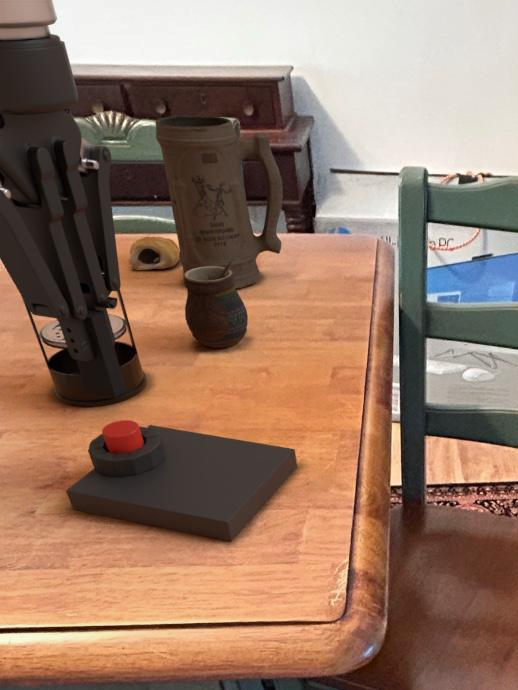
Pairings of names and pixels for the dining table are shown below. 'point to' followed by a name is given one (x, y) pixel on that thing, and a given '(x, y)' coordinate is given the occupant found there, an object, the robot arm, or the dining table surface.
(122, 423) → the button
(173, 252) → the pastry
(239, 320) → the mate gourd
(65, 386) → the french press
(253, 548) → the dining table surface
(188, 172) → the beer stein
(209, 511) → the scale
